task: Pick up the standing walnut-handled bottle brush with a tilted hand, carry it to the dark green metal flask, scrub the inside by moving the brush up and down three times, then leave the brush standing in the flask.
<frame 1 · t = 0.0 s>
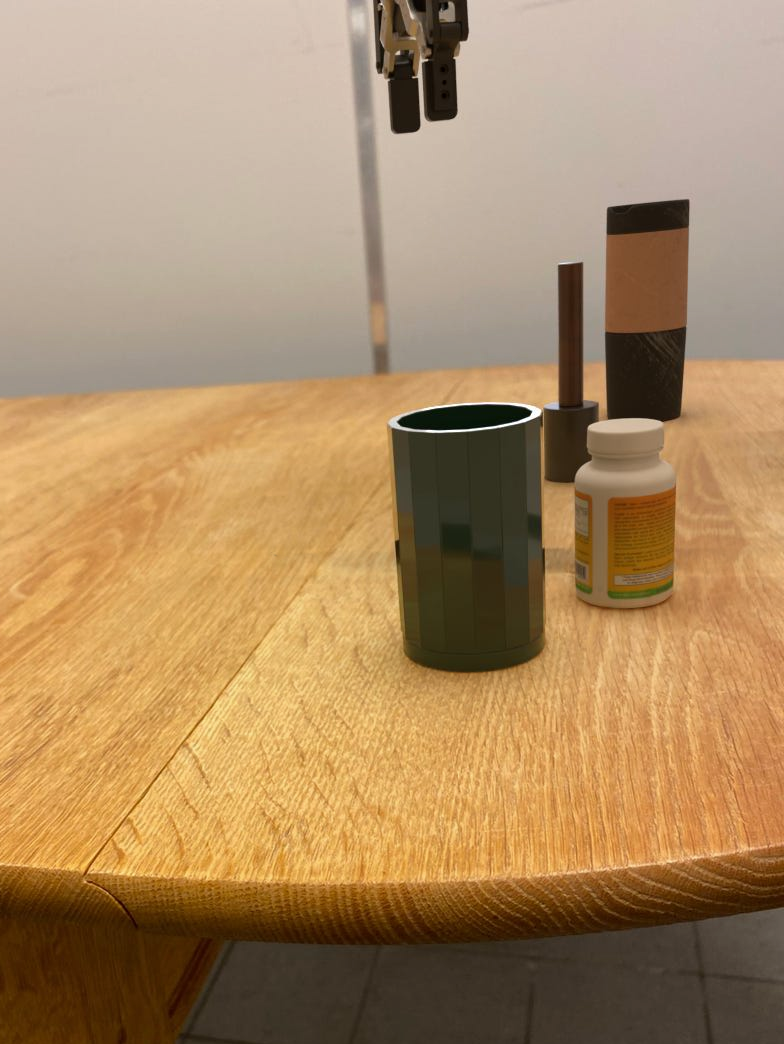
hand: (422, 127, 78), 27 cm above the table, tool pointing down, fingers open, 8 cm apart
bottle brush: (571, 496, 81), on the table
supplement bottle: (623, 597, 61), on the table
flask: (473, 644, 56), on the table
travel mug: (643, 418, 107), on the table
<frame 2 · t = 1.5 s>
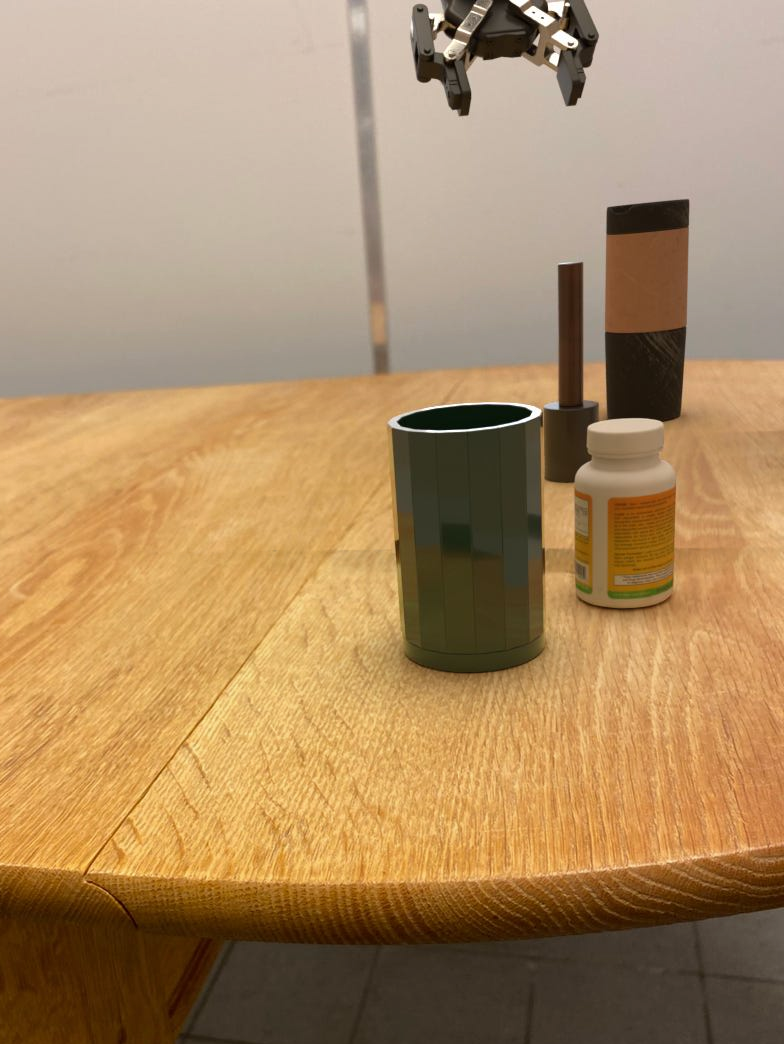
hand: (520, 101, 82), 28 cm above the table, tool tilted 45°, fingers open, 8 cm apart
nothing on the table moved.
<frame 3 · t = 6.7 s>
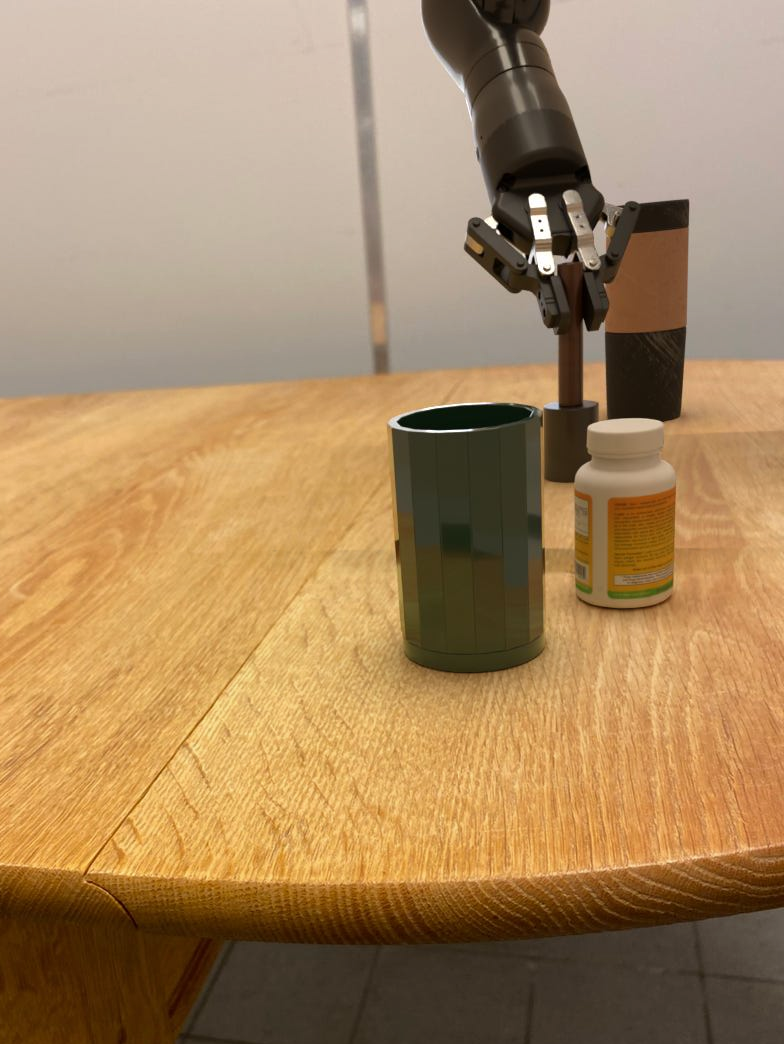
hand: (580, 324, 75), 13 cm above the table, tool tilted 45°, fingers closed on bottle brush, 2 cm apart
bottle brush: (571, 496, 81), on the table, touching gripper
everything else where it was.
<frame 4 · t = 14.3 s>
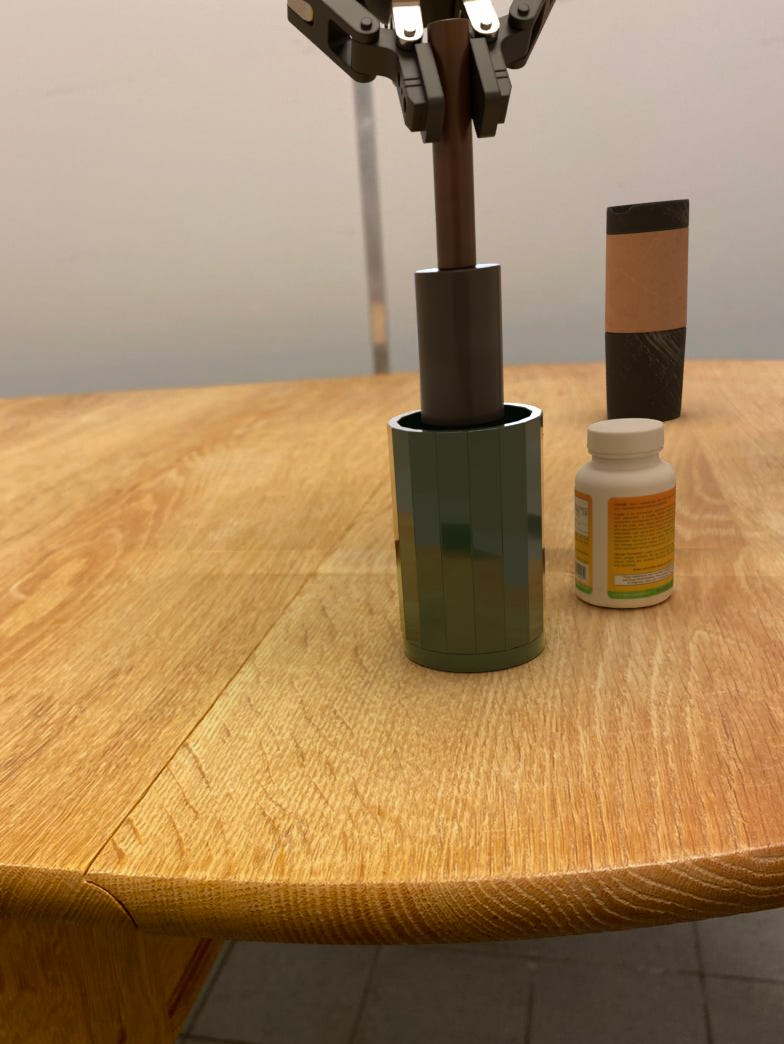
hand: (463, 122, 45), 25 cm above the table, tool tilted 45°, fingers closed on bottle brush
bottle brush: (462, 419, 52), point 12 cm above the table, touching gripper
everything else where it was.
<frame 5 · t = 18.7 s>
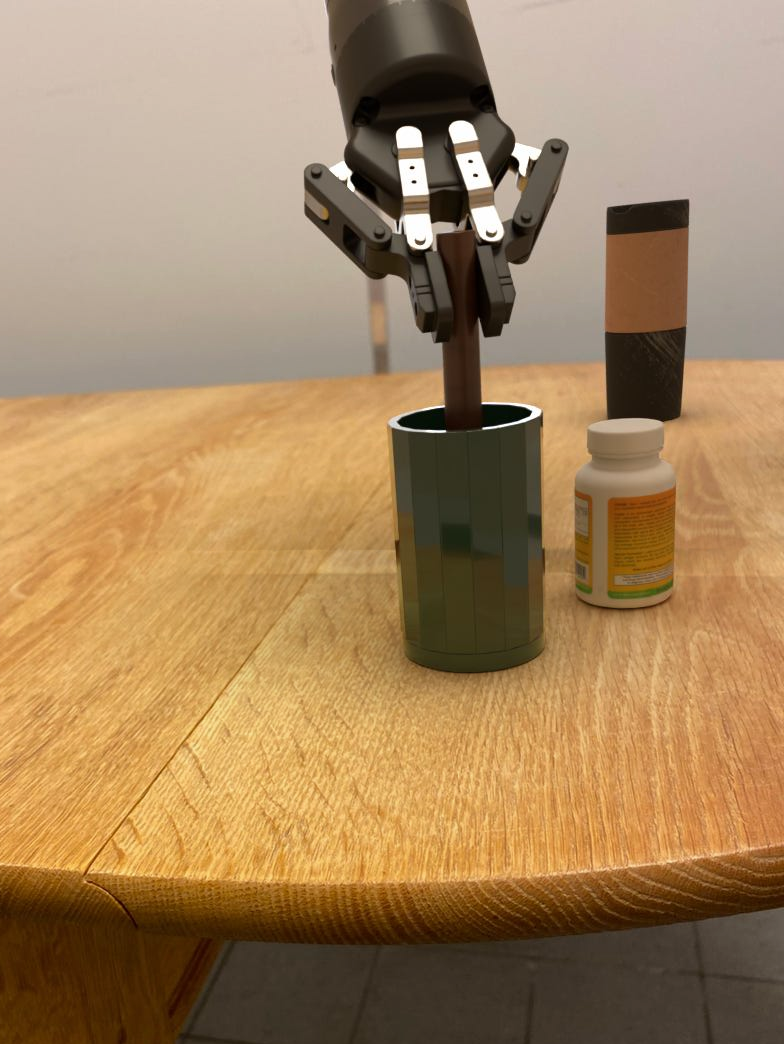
hand: (470, 327, 48), 16 cm above the table, tool tilted 45°, fingers closed on bottle brush, 2 cm apart
bottle brush: (470, 582, 55), point 3 cm above the table, touching gripper
everything else where it was.
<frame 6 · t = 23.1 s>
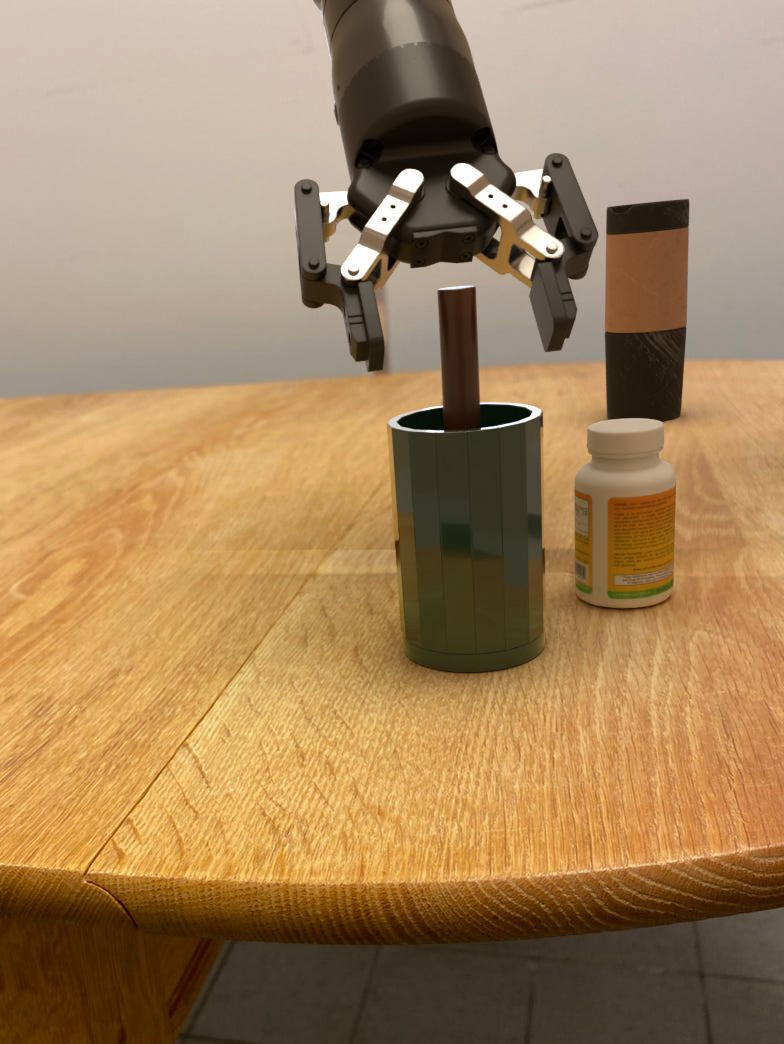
hand: (467, 350, 49), 15 cm above the table, tool tilted 45°, fingers open, 8 cm apart
bottle brush: (470, 627, 56), point 1 cm above the table, touching flask
everything else where it was.
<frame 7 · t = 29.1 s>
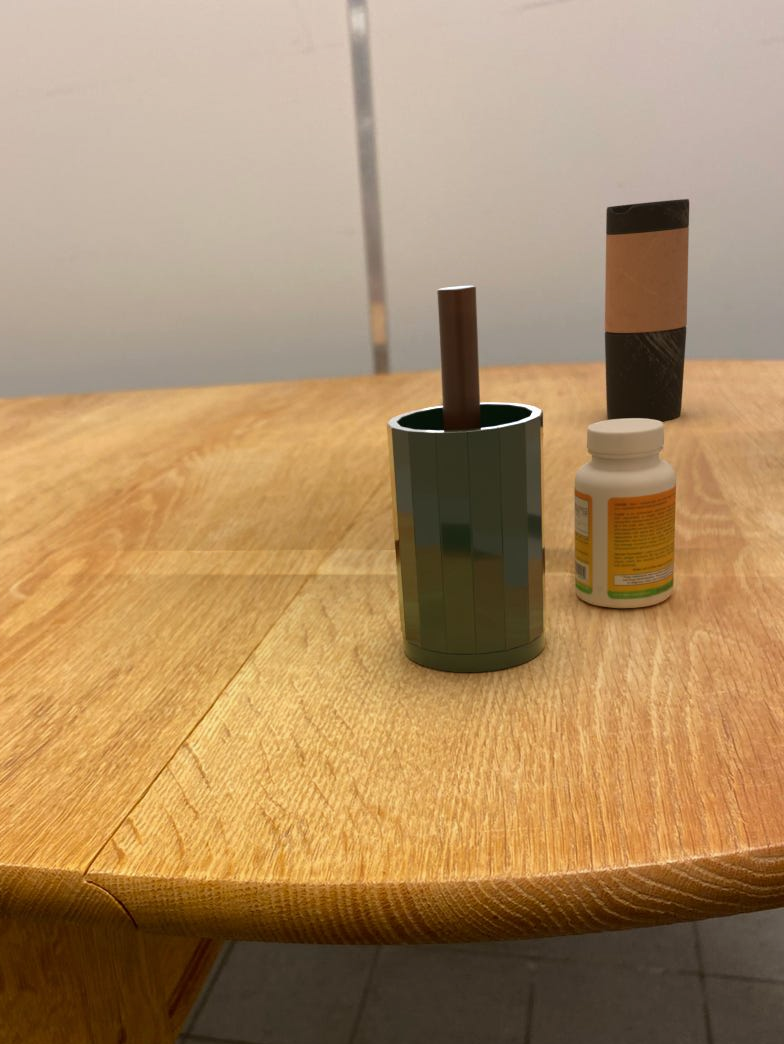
nothing on the table moved.
at the end: bottle brush 0.1 cm off-centre in the flask, point 1.0 cm above the flask's base; bottle brush moved 30.2 cm from its start; the gripper is holding nothing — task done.
